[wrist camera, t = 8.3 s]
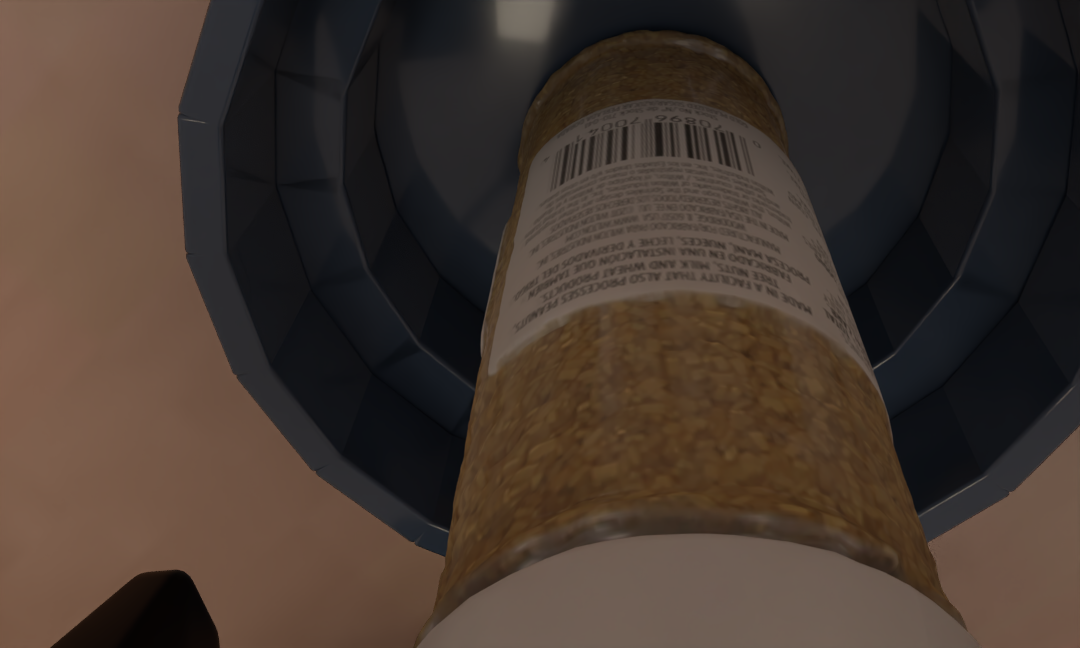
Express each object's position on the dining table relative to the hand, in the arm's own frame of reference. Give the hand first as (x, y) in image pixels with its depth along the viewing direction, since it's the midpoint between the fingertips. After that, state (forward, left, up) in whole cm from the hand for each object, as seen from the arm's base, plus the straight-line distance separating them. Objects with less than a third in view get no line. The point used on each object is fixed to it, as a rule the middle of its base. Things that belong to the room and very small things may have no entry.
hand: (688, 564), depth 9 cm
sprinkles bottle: (0, 0, -10) cm, 10 cm away
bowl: (0, 0, -11) cm, 11 cm away
